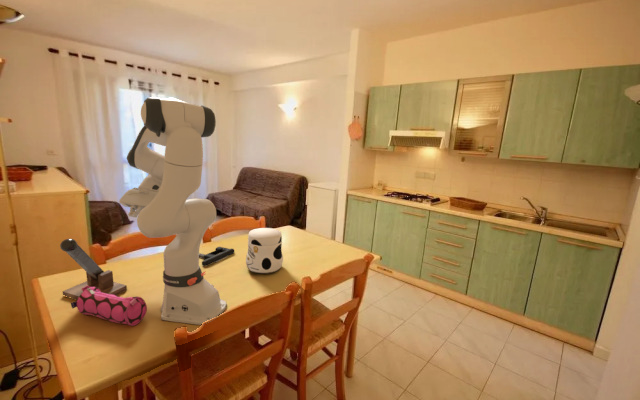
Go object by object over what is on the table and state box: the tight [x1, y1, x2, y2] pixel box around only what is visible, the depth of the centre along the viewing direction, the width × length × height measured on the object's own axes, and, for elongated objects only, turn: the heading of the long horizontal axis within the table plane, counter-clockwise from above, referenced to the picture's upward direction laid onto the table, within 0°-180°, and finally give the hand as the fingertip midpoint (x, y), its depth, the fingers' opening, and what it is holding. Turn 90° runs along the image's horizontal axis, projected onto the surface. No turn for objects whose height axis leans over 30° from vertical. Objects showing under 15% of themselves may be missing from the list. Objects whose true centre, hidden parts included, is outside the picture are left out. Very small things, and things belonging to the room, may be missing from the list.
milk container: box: [245, 227, 284, 275], centre depth 136 cm, size 17×17×18 cm
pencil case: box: [70, 285, 148, 327], centre depth 94 cm, size 21×10×10 cm, turn 78°
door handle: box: [199, 246, 235, 267], centre depth 147 cm, size 3×20×16 cm
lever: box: [59, 238, 105, 282], centre depth 103 cm, size 4×4×22 cm
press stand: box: [62, 269, 128, 301], centre depth 108 cm, size 16×12×8 cm
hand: (131, 216), depth 119 cm, fingers closed
